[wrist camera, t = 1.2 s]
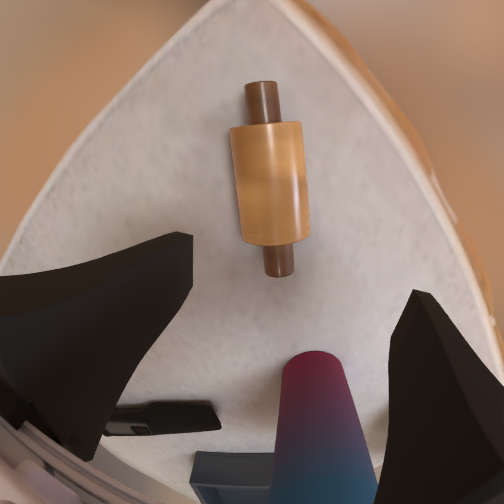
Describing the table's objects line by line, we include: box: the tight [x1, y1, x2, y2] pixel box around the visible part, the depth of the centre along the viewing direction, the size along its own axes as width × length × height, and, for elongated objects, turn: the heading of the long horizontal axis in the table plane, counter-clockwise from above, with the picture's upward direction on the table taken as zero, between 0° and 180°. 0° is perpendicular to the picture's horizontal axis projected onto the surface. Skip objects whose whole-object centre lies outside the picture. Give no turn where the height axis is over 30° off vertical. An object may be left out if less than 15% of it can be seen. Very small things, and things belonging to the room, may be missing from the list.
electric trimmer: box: [103, 403, 222, 437], centre depth 27 cm, size 4×16×3 cm, turn 108°
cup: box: [268, 351, 378, 504], centre depth 18 cm, size 7×7×15 cm
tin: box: [189, 451, 274, 504], centre depth 31 cm, size 9×16×4 cm, turn 6°
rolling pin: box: [229, 81, 310, 278], centre depth 18 cm, size 4×11×4 cm, turn 6°
